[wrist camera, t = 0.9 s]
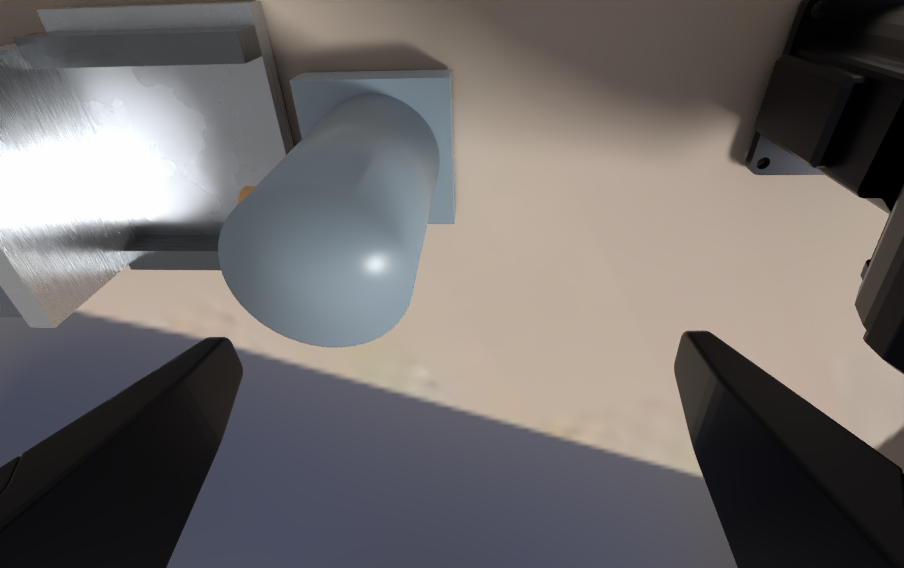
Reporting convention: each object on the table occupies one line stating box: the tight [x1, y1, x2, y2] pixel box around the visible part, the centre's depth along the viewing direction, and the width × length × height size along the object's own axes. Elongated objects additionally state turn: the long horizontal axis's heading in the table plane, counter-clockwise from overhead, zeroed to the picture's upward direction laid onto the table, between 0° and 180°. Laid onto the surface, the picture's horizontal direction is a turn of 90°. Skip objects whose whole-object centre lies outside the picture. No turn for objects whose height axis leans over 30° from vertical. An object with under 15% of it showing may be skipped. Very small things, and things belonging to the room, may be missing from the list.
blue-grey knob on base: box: [218, 69, 456, 347], centre depth 16 cm, size 6×6×10 cm
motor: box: [0, 1, 294, 328], centre depth 18 cm, size 15×11×7 cm
